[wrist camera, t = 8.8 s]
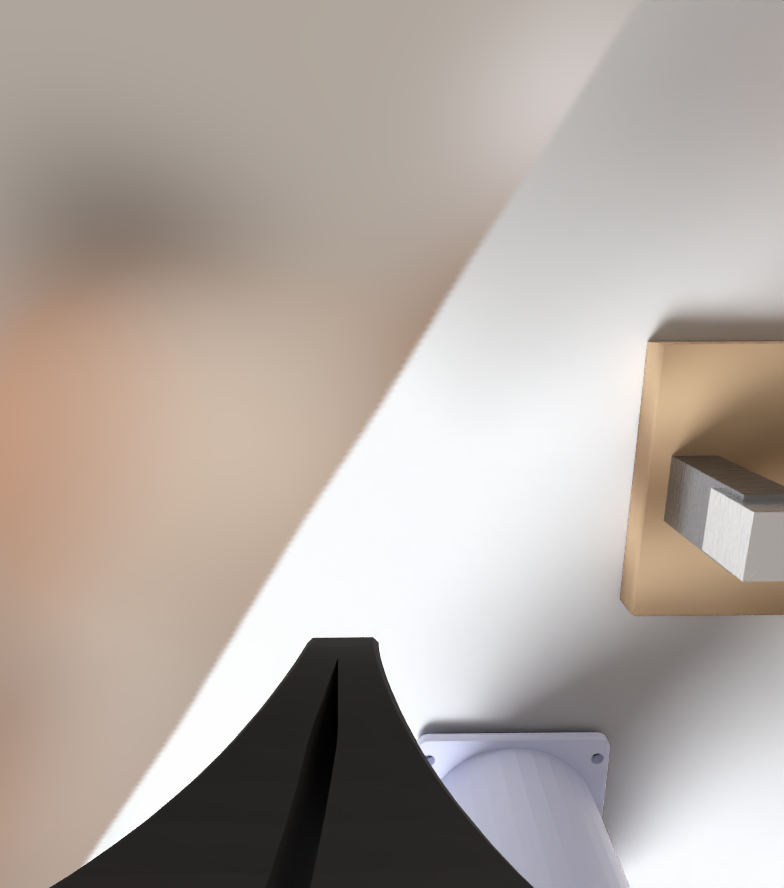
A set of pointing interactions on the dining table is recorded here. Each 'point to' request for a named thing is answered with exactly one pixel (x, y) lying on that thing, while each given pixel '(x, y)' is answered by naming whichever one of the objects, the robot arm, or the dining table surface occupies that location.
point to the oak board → (700, 434)
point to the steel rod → (728, 515)
